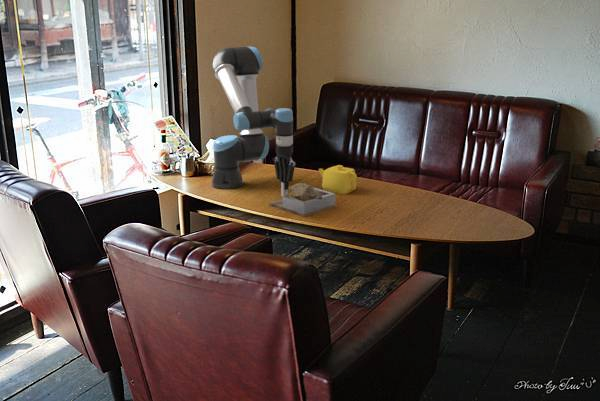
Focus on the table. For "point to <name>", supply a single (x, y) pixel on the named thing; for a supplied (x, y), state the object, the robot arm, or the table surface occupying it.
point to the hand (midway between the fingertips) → (284, 195)
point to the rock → (302, 192)
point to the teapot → (338, 179)
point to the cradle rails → (310, 202)
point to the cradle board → (279, 205)
